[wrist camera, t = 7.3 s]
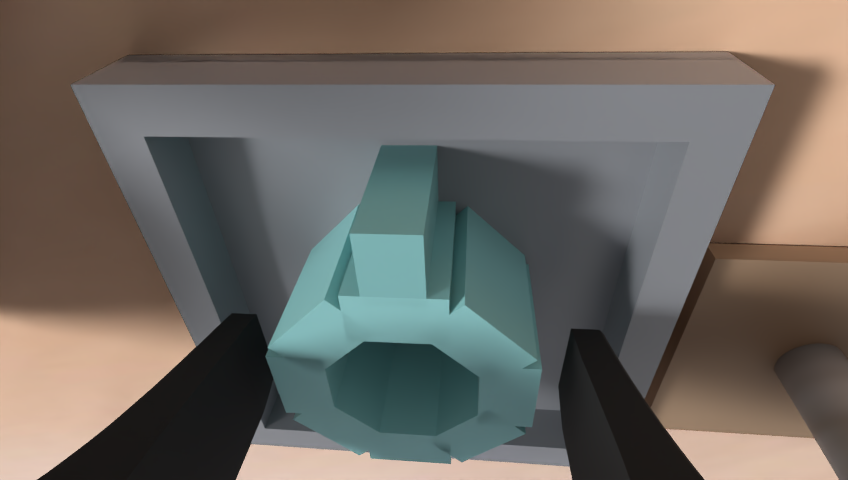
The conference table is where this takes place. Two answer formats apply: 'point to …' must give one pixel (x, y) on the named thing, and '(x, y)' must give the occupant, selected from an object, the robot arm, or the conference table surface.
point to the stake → (762, 348)
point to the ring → (410, 325)
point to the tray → (457, 181)
